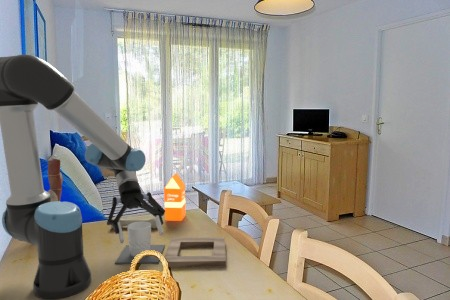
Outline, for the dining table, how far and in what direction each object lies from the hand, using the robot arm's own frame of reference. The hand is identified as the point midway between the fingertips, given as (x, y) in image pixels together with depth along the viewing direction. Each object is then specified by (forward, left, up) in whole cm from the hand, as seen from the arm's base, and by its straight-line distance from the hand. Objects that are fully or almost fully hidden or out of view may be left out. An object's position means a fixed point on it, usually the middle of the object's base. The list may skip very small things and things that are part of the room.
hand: (142, 237), depth 118 cm
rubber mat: (+2, +1, -7) cm, 7 cm away
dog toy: (+29, +9, -7) cm, 32 cm away
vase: (+27, +41, -7) cm, 49 cm away
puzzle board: (+2, -18, -7) cm, 19 cm away
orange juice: (+42, -6, -7) cm, 43 cm away
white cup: (+2, +1, -6) cm, 7 cm away
